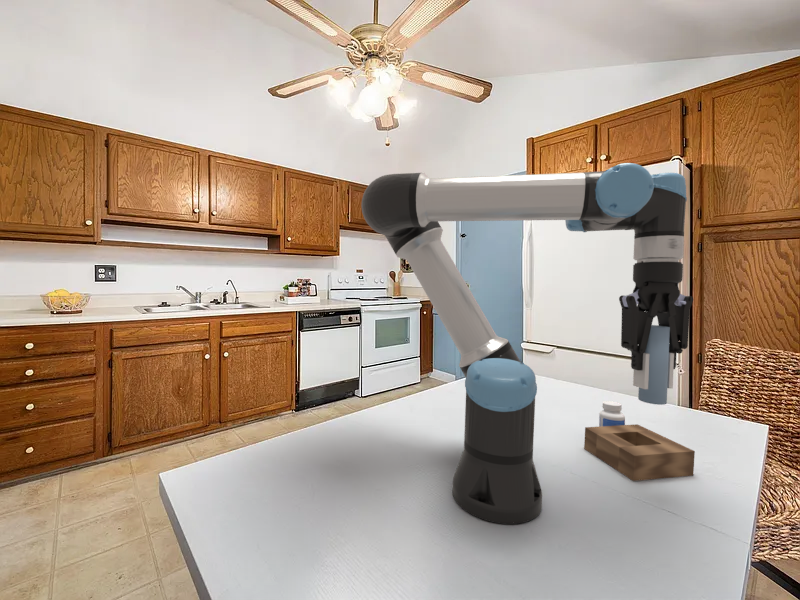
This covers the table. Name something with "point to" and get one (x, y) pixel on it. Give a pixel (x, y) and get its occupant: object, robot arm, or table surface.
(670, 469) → the socket block
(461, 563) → the table surface
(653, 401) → the peg
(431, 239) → the robot arm
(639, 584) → the table surface
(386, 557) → the table surface
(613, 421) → the pill bottle
